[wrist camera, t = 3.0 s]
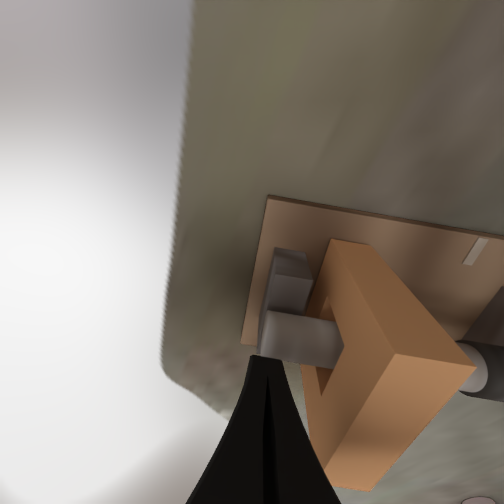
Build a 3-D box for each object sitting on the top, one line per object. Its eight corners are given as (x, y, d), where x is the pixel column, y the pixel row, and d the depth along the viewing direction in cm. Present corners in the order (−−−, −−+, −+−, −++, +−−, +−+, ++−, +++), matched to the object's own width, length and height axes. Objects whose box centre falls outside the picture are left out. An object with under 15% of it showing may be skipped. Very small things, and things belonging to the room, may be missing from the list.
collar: (297, 339, 19) (315, 483, 11) (330, 238, 15) (395, 353, 7) (328, 344, 19) (369, 491, 11) (370, 245, 15) (477, 367, 7)
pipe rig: (241, 334, 21) (229, 421, 14) (268, 194, 15) (266, 238, 9) (460, 371, 21) (540, 472, 15) (563, 246, 15) (759, 324, 9)
